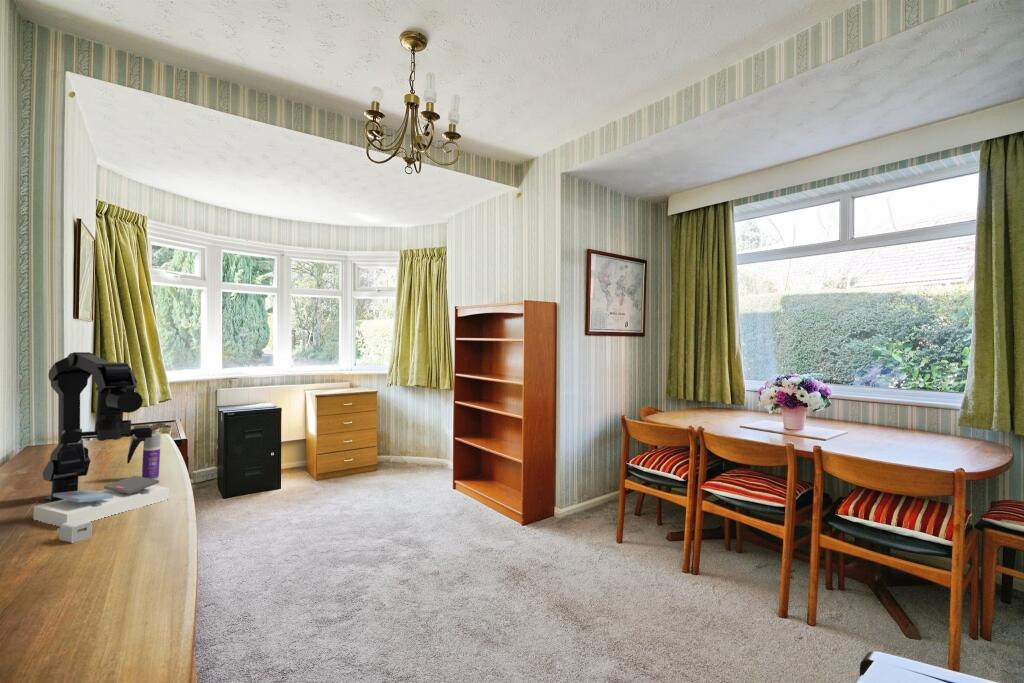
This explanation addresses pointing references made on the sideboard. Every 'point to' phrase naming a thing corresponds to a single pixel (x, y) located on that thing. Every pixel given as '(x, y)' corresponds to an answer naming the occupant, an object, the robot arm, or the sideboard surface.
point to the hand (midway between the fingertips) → (106, 465)
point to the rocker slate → (83, 496)
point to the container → (151, 457)
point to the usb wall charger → (75, 531)
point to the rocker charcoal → (131, 484)
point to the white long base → (98, 506)
